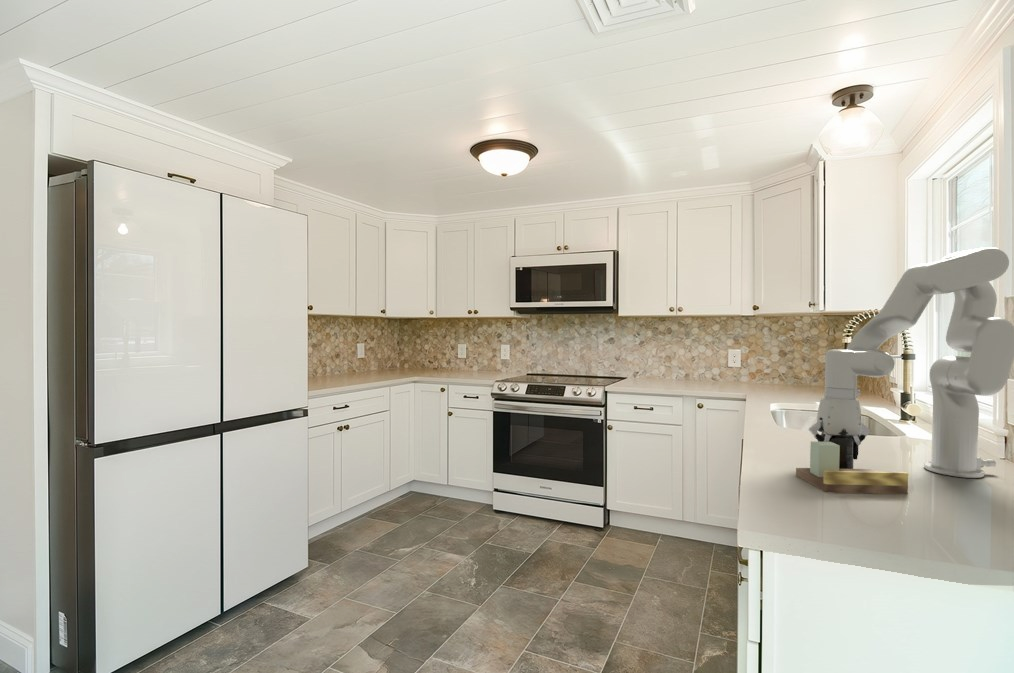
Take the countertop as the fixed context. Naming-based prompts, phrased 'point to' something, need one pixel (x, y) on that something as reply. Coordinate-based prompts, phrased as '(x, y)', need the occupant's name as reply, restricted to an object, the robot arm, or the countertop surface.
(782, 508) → the countertop surface
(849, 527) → the countertop surface
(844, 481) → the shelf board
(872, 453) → the countertop surface
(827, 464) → the product box
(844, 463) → the supplement bottle
